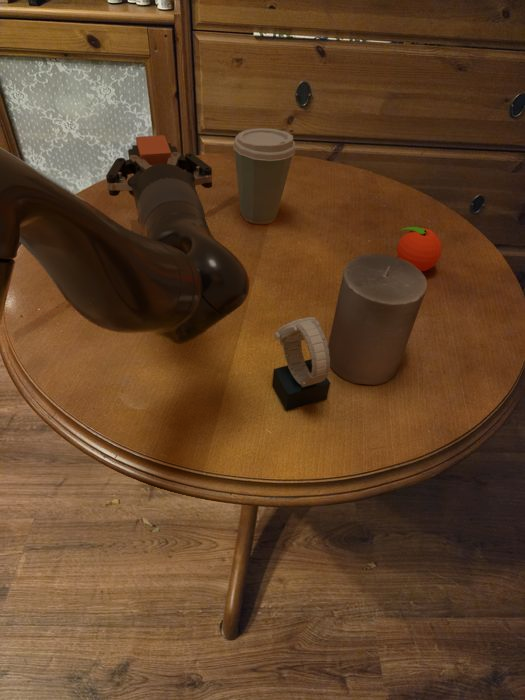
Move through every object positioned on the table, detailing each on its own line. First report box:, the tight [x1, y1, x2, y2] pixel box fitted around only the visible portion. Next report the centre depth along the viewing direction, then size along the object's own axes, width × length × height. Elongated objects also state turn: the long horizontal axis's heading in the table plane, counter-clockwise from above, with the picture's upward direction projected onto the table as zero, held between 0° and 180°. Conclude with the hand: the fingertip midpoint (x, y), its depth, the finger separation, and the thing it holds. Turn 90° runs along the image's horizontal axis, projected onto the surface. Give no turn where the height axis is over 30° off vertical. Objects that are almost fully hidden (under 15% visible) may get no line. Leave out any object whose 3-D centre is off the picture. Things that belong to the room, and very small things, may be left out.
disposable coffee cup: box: [232, 127, 296, 225], centre depth 87 cm, size 11×11×15 cm
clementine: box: [396, 226, 443, 272], centre depth 80 cm, size 8×7×7 cm
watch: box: [271, 316, 331, 412], centre depth 58 cm, size 6×8×11 cm
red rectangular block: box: [135, 134, 171, 166], centre depth 70 cm, size 6×4×10 cm, turn 16°
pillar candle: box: [327, 253, 428, 386], centre depth 61 cm, size 10×10×15 cm
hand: (151, 151), depth 70 cm, fingers closed on red rectangular block, 4 cm apart
